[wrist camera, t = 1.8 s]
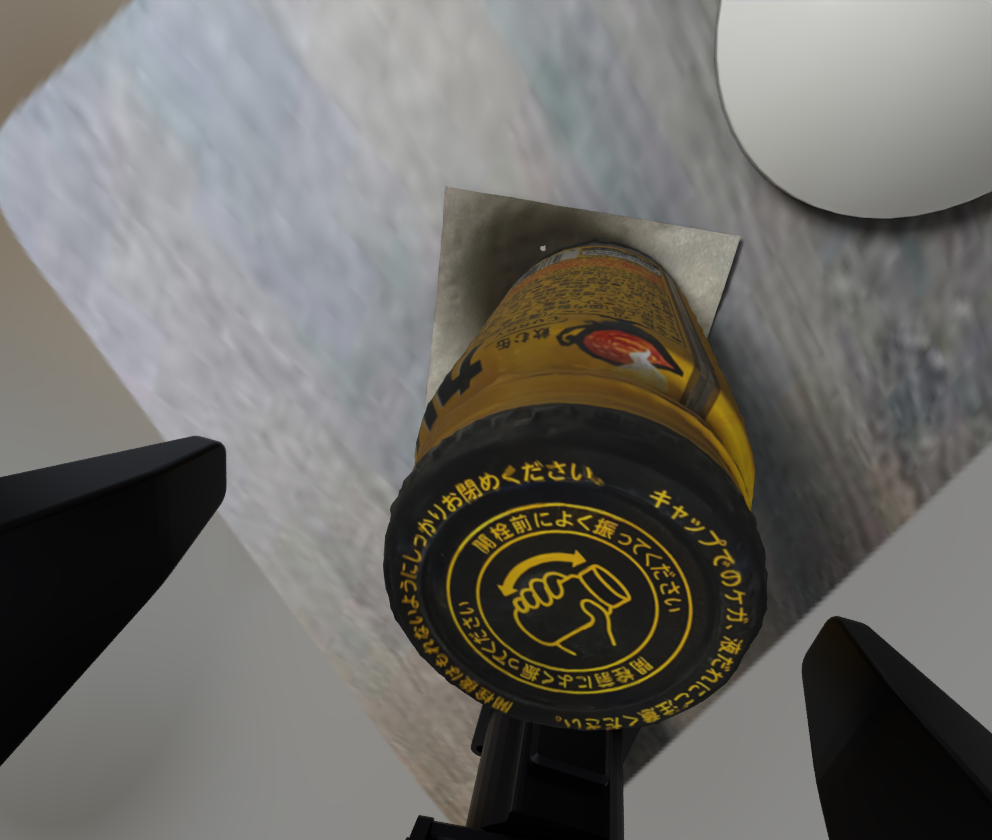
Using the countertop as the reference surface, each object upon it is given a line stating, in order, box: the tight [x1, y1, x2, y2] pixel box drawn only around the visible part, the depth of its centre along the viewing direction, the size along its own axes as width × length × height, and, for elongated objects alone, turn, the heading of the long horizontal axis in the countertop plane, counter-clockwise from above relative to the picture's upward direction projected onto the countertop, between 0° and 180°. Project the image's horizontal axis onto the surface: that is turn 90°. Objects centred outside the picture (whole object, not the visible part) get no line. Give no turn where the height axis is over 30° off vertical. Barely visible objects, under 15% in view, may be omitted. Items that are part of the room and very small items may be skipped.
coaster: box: [714, 0, 992, 218], centre depth 13 cm, size 9×9×1 cm
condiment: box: [383, 187, 768, 731], centre depth 13 cm, size 7×8×12 cm
